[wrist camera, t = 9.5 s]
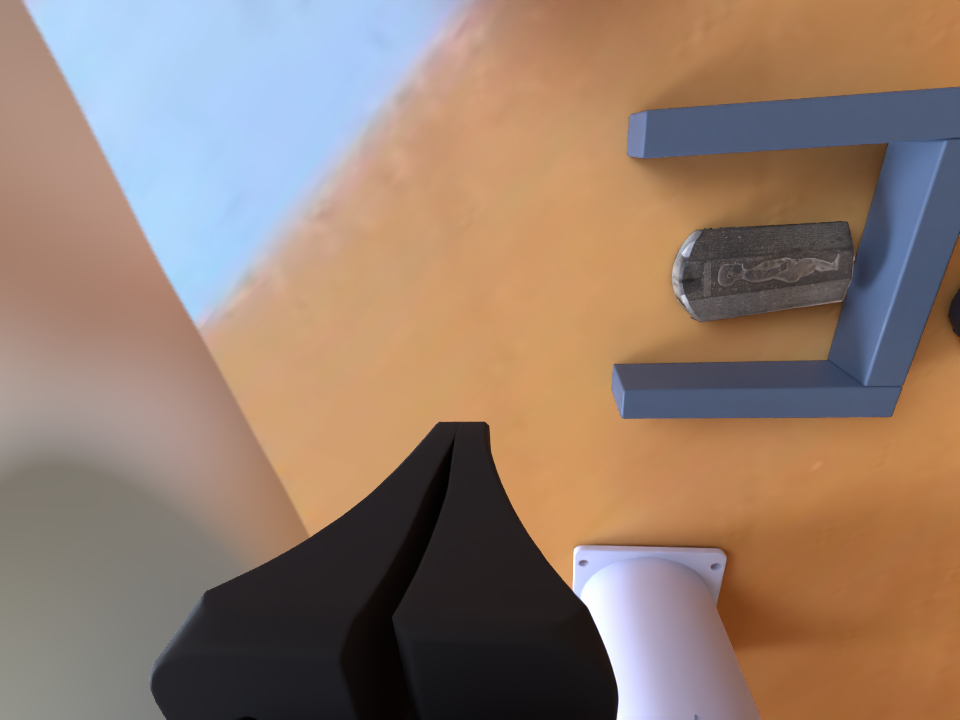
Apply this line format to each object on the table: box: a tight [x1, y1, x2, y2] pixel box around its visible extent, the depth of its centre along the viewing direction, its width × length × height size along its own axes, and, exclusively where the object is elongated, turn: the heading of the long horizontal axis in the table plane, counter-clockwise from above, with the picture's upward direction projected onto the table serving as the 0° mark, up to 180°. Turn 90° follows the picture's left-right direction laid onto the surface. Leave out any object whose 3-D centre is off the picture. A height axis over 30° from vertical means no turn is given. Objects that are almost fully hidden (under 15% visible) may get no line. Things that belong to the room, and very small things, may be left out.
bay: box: [612, 87, 960, 419], centre depth 17 cm, size 11×10×2 cm
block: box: [672, 221, 855, 322], centre depth 18 cm, size 4×6×2 cm, turn 101°
